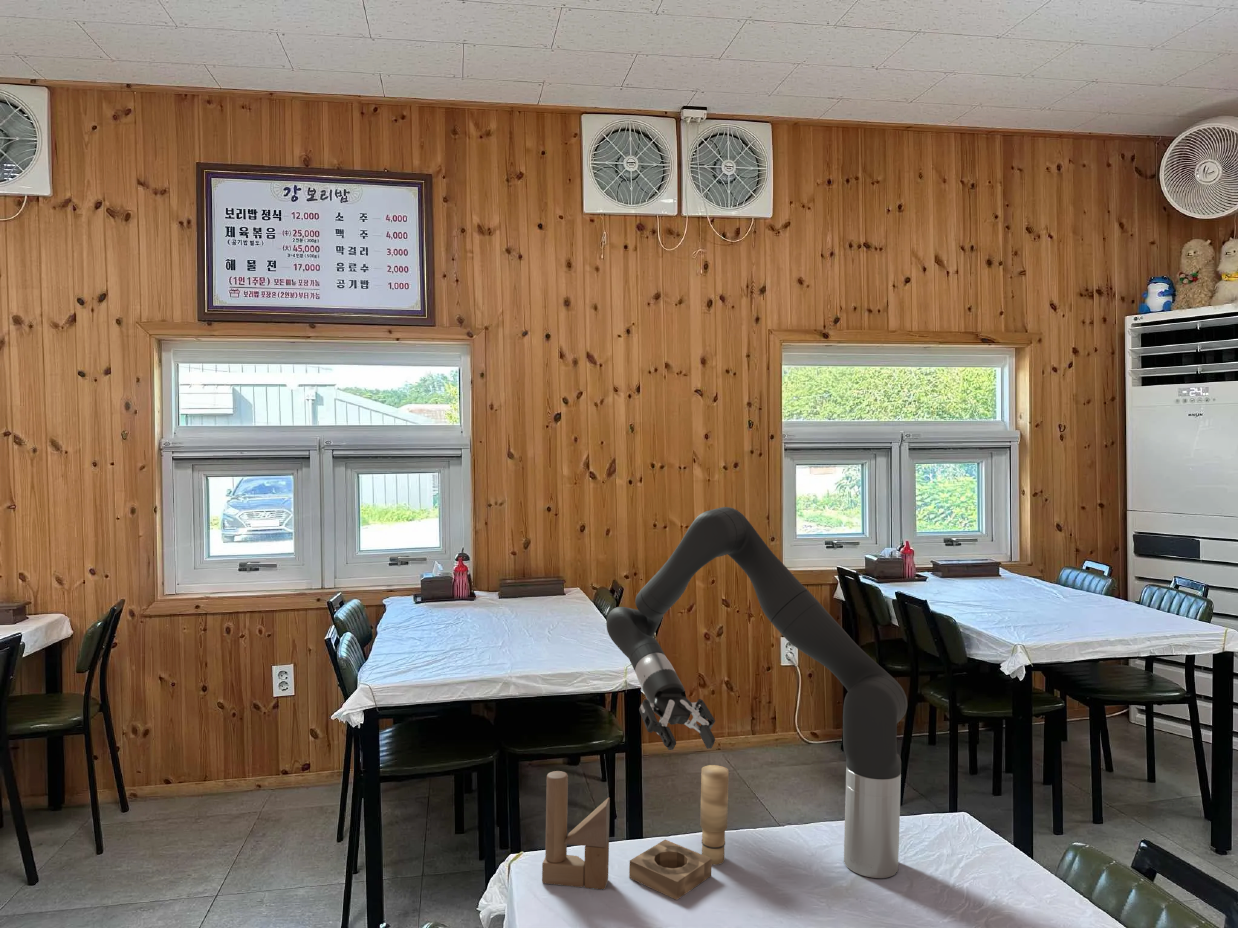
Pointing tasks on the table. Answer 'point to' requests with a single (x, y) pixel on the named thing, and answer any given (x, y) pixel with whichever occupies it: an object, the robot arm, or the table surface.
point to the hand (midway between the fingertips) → (692, 746)
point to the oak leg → (714, 811)
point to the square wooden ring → (670, 869)
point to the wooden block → (574, 840)
